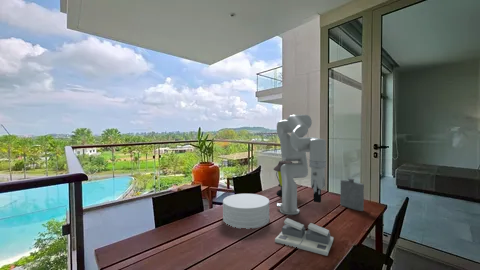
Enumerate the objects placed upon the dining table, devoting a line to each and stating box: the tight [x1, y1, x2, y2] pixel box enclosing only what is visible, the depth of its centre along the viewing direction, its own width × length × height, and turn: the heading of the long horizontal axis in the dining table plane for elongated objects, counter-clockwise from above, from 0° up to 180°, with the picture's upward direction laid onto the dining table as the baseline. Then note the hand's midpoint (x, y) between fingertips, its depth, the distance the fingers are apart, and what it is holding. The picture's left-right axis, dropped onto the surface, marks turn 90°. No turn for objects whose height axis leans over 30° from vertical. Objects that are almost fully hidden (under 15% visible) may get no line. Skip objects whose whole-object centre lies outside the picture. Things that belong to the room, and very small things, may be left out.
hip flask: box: [339, 177, 365, 212], centre depth 157 cm, size 16×4×20 cm, turn 34°
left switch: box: [283, 217, 305, 230], centre depth 116 cm, size 9×4×1 cm, turn 59°
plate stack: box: [222, 193, 270, 230], centre depth 140 cm, size 28×28×12 cm
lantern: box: [273, 159, 293, 197], centre depth 188 cm, size 25×19×30 cm
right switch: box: [307, 222, 330, 236], centre depth 110 cm, size 9×4×1 cm, turn 59°
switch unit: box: [274, 223, 335, 257], centre depth 112 cm, size 24×16×4 cm, turn 59°
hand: (317, 201), depth 112 cm, fingers closed
